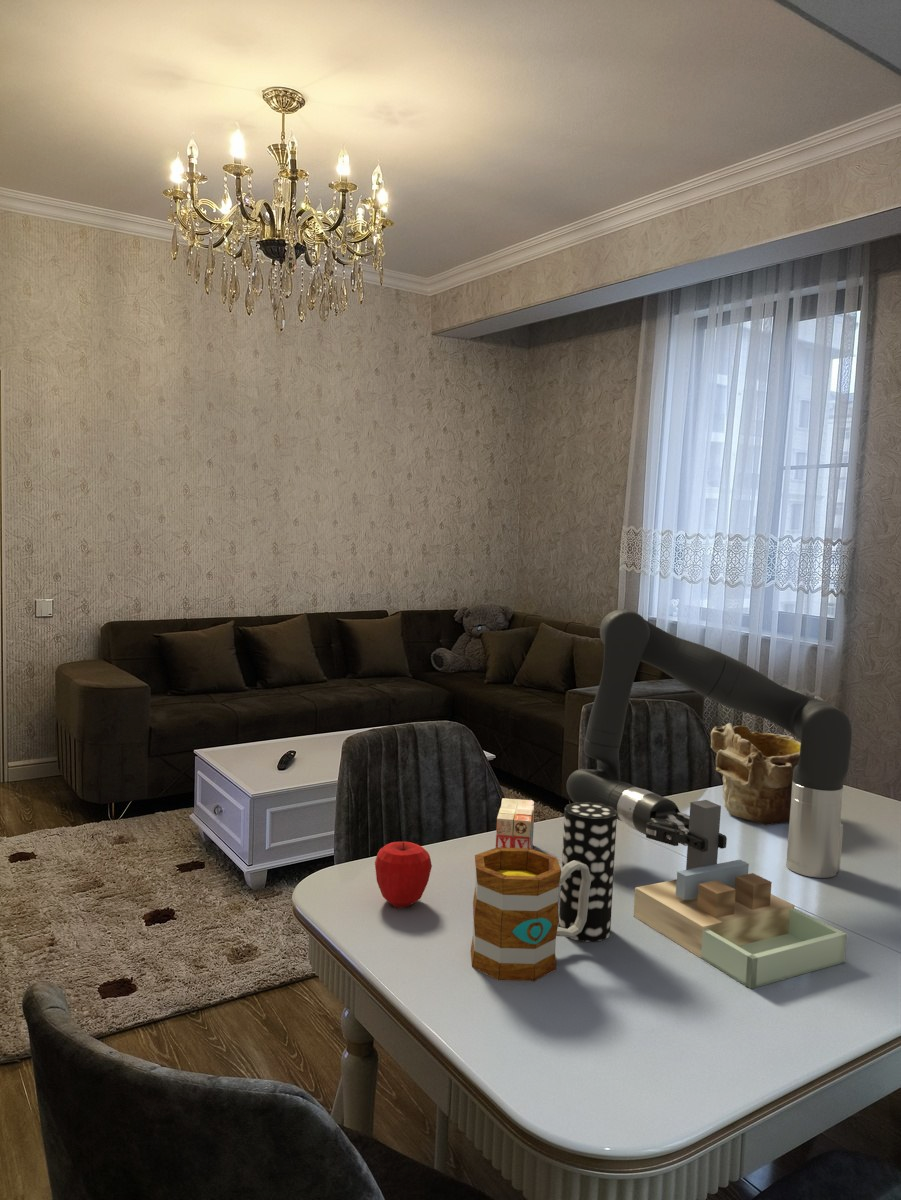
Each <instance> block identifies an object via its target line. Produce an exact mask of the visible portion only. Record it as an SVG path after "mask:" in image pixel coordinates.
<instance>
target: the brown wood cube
mask: <svg viewBox="0 0 901 1200" xmlns="http://www.w3.org/2000/svg"><path fill="white" fill-rule="evenodd" d="M734 889H735V890H736V892H735V901H736V902H738V903H740V904H742V905H744V906H746V907H748V908H750V909H752V910H754V909H758V908H762V907H767V906H770V898H771V894H772V881H770V880H769V879H767V878H764V877H762V876H760V875H758V874H755V873H753V872H751V873H748V874H746V875H741V876H736V877H735V888H734Z"/></svg>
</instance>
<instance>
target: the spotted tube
mask: <svg viewBox="0 0 901 1200" xmlns="http://www.w3.org/2000/svg"><path fill="white" fill-rule="evenodd" d="M617 821H618V819H617V811H616V810H615V809H613V808H612V807H609V806H607V805H603V804H598V803H591V802H577V803H575V802H572V803H569V804H566V805H565V807H564V816H563V834H562V835H563V836H562V837H563V838H562V857H561V869H562V868H563V866H564V865H565V864H567V863H569V862H571V861H573V860H575V861H578V862H580V863H583V864H586V865H587V866H588V868H589V872H590V876H591V885H590V891H589V899H588V912H587V920H586V923H585V925H584V927H583V929H582V932H581V933H579V934H577V935H576V936H574V937H568V938H569V939H572V940H575V941H579V942H585V943H586V942H587V943H590V942H591V943H595V942H601V941H604V940H607V938H609V936H611V928H612V927H611V926H612V925H611V924H612V907H613V890H614V888H613V887H614V876H615V875H614V873H615V872H614V871H615V854H616V841H617V840H616V838H617V837H616V836H617V835H616V834H617ZM581 880H582V875H581V869H580V868H578V869H576V870H575V871H573V872H572V873H571V874H570V875H569V877H568V878H567V879H566V880H565V881H564V882H563V883H561V884H560V892H559V893H560V894H559V909H558V915H559V922H558V927H561V928H565V929H568V928H569V927H571V926H573V925H574V923H575V920H576V918H577V913H578V900H579V890H580V885H581Z"/></svg>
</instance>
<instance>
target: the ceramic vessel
mask: <svg viewBox="0 0 901 1200" xmlns="http://www.w3.org/2000/svg"><path fill="white" fill-rule="evenodd" d="M800 746H801V741H799V740H796V739H795V736H794V737H793V736H791V735H785V734H784V735H783V734H780V733H776V734H774V733H768V732H767V733H762V732H758V731H753V732H751V730H750V728H749V727H748V726H745V725H736V726H734V725H733V724H732V723H730V722H729V723H727V724H725V725H719V726H718V725H716V726H714V727H713V728H712V730H711V732H710V748H711V749H712V751H713V752H714V753H715V754H716V757H715V771H716V772H718V773H720V774H722V783H723V784H722V798H723V800H724V801H723V802H724V803H723V804H724V807H725V809H726V811H727V812H728V813H729V814H730V815H731V816H733V817H736V818H740V819H744V820H747V821H751V822H755V823H758V824H763V825H766V826H767V825H768V826H769V825H777V824H779V825H780V824H785V823H789V821H790V808H791V793H792V779H793V769H794V767H795V766H796V765H798V762H799V756H800Z"/></svg>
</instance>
